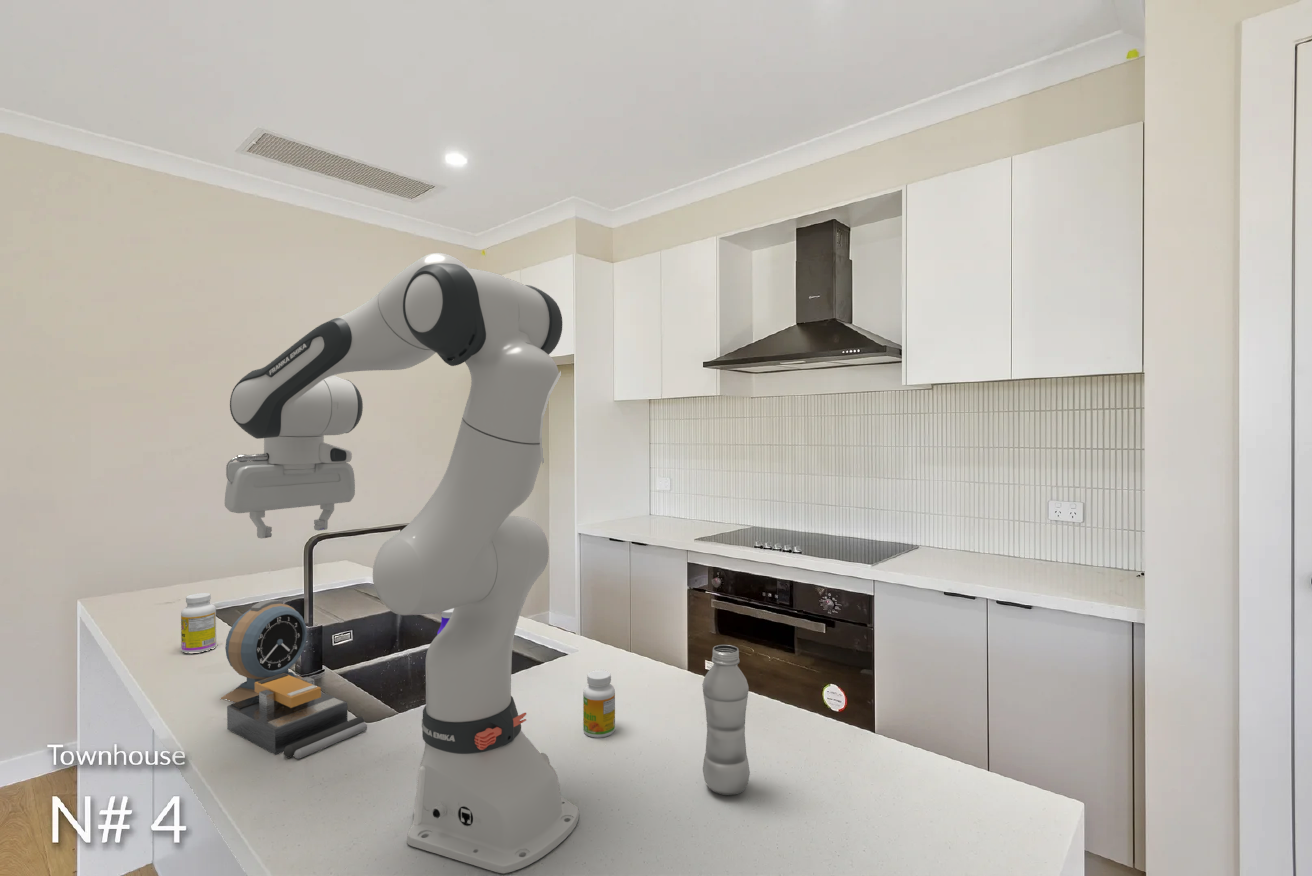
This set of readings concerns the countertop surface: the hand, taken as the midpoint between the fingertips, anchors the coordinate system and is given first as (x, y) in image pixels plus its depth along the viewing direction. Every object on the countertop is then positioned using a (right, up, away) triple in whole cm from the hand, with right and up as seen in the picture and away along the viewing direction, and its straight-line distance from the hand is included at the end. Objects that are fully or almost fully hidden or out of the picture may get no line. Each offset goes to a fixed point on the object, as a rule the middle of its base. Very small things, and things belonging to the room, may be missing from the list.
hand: (293, 533), depth 109 cm
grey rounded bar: (+8, -34, -4) cm, 35 cm away
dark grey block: (-2, -34, +1) cm, 34 cm away
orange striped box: (-2, -27, +1) cm, 27 cm away
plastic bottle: (+72, -34, -18) cm, 81 cm away
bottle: (+24, -34, +12) cm, 43 cm away
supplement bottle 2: (+52, -34, 0) cm, 62 cm away
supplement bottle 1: (-45, -33, +40) cm, 68 cm away
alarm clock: (-15, -34, +17) cm, 40 cm away
